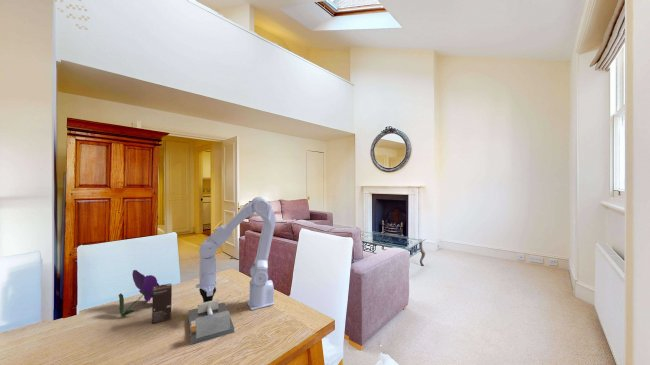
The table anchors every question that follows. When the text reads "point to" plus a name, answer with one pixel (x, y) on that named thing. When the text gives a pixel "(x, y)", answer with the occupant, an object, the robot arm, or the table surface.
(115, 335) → the table surface
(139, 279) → the flower
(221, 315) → the sloped base with peg
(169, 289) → the box
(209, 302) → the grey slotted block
